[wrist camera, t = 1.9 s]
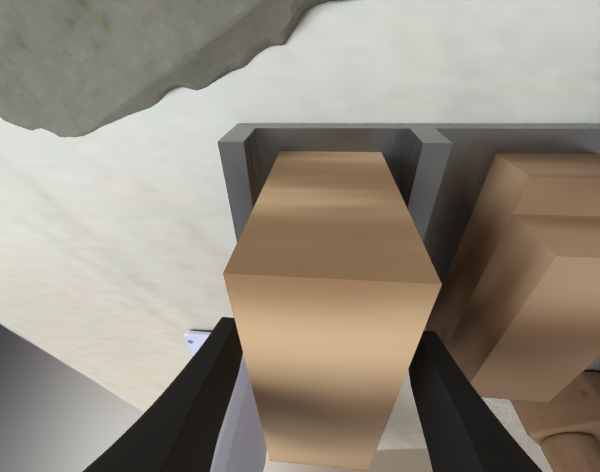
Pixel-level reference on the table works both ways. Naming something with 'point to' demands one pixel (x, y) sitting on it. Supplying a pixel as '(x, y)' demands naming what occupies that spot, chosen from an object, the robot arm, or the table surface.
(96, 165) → the table surface
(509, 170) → the walnut offcut lower
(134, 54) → the stone slab
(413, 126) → the rack
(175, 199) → the table surface
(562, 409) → the wooden block
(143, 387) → the table surface
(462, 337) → the walnut offcut upper
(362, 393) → the oak board
